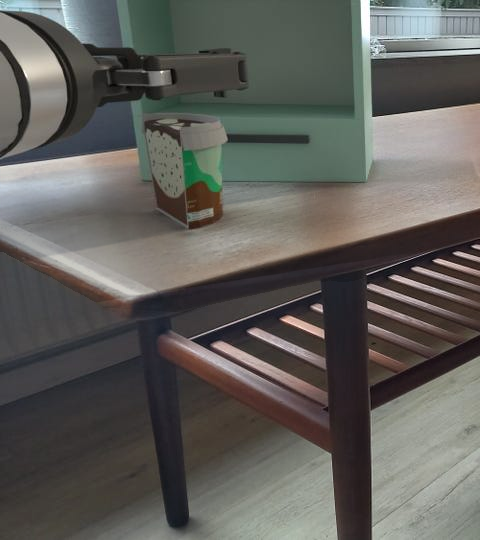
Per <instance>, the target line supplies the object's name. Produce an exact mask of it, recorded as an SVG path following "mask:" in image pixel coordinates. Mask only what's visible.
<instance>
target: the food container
mask: <svg viewBox="0 0 480 540" xmlns="http://www.w3.org/2000/svg"><path fill="white" fill-rule="evenodd" d="M141 119H142V120H141V126H142V134H144V137H145V143H146V149H147V155H148V161H149V167H150V173H151V179H152V181H151V185H152V190H153V196H154V202H155V208H156V210H157V212H160V213H162V214H163V215H165V216H166V217H168V218H170V219H171V220H173V221H174V222H176V223H177V224H179V225H181V226H182V227H184V228H186V229H187V230H192V229H197V228H202V227H206V226H208V225H212V224H215V223H217V222H218V221H221V219H222V218H223V217H224V210H223V208H224V206H223V205H224V204H223V203H224V202H223V181H222V159H221V144H223V143H225V142H227V141H228V139H227V136H226V132H225V129H224V126H223V125H222V124H220V119H219V118H217V117H214V116H209V115H202V114H187V113H152V114H141Z"/></svg>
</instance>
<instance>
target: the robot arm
mask: <svg viewBox="0 0 480 540" xmlns="http://www.w3.org/2000/svg"><path fill="white" fill-rule="evenodd" d="M110 57H116V59H114V58H110ZM247 88H249V86H248V74H247V63H246V54H244V53H241V52H233V53H232V54H231V48H218V49H210V50H201V51H199V53H191V54H138V53H137V52H136V51H135V49H133V48H129V47H123V46H97V45H94V44H92V43H85V42H81V40H79V38H78V37H76V35H74V33H72V31H70V30H69V29H67V28H66V27H65V26H64V25H62V24H60V23H59V22H57V21H55V20H54V19H52V18H49V17H48V16H45V15H41V14H38V13H34V12H31V11H30V12H29V11H25V10H23V11H22V10H0V160H3V159H5V158H8V157H11V156H16V155H18V154H21V153H25V152H28V151H33V150H37V149H40V148H43V147H47V146H50V145H53V144H56V143H60V142H62V141H65V140H67V139H70V138H72V137H74V136H75V135H77V134H79V132H81V131H83V129H84V128H85V127H86V126H87V125H88V124H89V123H90V121H91V120H92V119H93V117H94V115H95V113H96V111H97V109H98V108H102V107H104V106H105V105H106V104H108V103H109V104H110V103H122V102H123V103H125V102H131V101H137V100H140V99H141V98H142V96H143V94H144V93H145V96H146V98H148V99H152V100H155V101H157V100H161V99H162V98H168V97H173V96H178V95H187V94H197V93H206V92H214V97H223V98H226V97H227V90H235V89H237V90H244V89H247Z"/></svg>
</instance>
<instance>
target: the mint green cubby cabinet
mask: <svg viewBox="0 0 480 540" xmlns="http://www.w3.org/2000/svg"><path fill="white" fill-rule="evenodd" d="M116 8H117V14H118V20H119V28H120V35H121V42H122V47H129V48H133V49H135V51H136V52H137V53H138V54H191V53H199V51H201V50H210V49H218V48H231V54H232V53H233V52H241V53H244V54H246V63H247V74H248V86H249V88H247V89H244V90H237V89H235V90H227V97H226V98H223V97H214V92H206V93H197V94H187V95H178V96H173V97H168V98H162V99H161V100H157V101H155V100H152V99H148V98H146V96H145V93H144V94H143V96H142V98H141V99H140V100H137V101H130V106H131V115H132V120H133V127H134V135H135V142H136V143H135V144H136V148H137V156H138V163H139V169H140V170H139V172H140V176H141V181H143V182H144V181H150V182H152V179H151V173H150V167H149V161H148V155H147V149H146V143H145V137H144V134H142V126H141V120H142V119H141V114H152V113H187V114H202V115H209V116H214V117H217V118H219V119H220V124H222V125H223V126H224V129H225V132H226V136H227V139H228V141H227V142H225V143H223V144H221V159H222V182H287V183H291V182H293V183H294V182H295V183H297V182H298V183H299V182H300V183H303V182H304V183H367V181H368V178H369V174H370V171H371V168H372V164H373V161H374V136H373V135H374V134H373V133H374V132H373V131H374V130H373V96H372V94H373V93H372V60H371V59H372V58H371V55H372V54H371V15H370V0H116Z"/></svg>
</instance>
